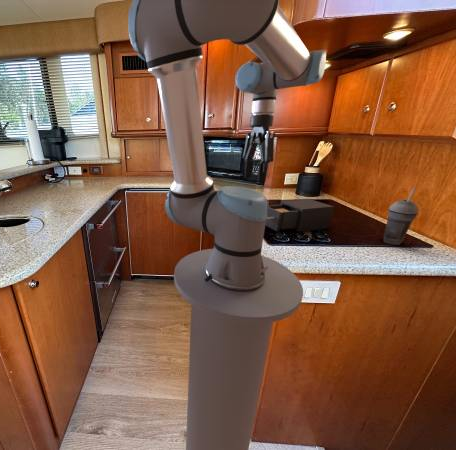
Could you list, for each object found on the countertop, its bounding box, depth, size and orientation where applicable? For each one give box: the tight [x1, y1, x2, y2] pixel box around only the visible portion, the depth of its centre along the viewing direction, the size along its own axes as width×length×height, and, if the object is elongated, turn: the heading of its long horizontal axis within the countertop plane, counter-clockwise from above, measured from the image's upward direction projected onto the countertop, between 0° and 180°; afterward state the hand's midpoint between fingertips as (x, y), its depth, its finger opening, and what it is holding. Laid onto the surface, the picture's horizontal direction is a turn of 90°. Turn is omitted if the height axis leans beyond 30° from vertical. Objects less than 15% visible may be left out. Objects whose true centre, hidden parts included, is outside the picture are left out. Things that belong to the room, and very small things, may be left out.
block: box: [275, 209, 288, 225], centre depth 100 cm, size 4×4×6 cm
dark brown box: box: [279, 198, 335, 233], centre depth 102 cm, size 15×13×10 cm
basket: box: [265, 204, 301, 232], centre depth 99 cm, size 19×11×8 cm, turn 102°
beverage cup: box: [382, 187, 419, 246], centre depth 82 cm, size 7×7×20 cm
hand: (254, 179), depth 91 cm, fingers open, 8 cm apart
